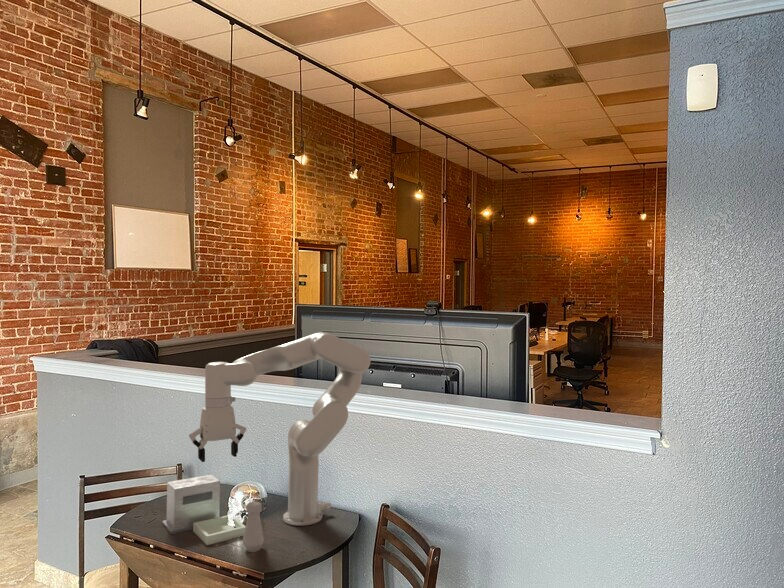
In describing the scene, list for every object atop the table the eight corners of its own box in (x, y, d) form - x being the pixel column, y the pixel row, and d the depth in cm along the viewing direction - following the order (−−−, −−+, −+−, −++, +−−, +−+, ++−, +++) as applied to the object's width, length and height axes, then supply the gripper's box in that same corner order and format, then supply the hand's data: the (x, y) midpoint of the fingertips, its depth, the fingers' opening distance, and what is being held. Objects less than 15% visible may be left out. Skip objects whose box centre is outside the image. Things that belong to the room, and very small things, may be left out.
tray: (231, 522, 178) (231, 514, 178) (246, 535, 169) (246, 526, 169) (193, 531, 171) (193, 522, 171) (206, 545, 162) (206, 536, 162)
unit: (212, 512, 186) (213, 473, 186) (223, 522, 178) (224, 481, 178) (162, 523, 177) (163, 481, 177) (171, 534, 169) (172, 490, 169)
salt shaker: (267, 549, 160) (268, 503, 160) (250, 555, 155) (251, 508, 156) (255, 542, 164) (256, 498, 164) (238, 549, 159) (239, 503, 160)
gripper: (241, 397, 181) (241, 451, 181) (185, 403, 171) (186, 460, 171) (249, 401, 175) (249, 456, 174) (192, 407, 165) (192, 466, 165)
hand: (218, 458), depth 173 cm, fingers open, 9 cm apart
